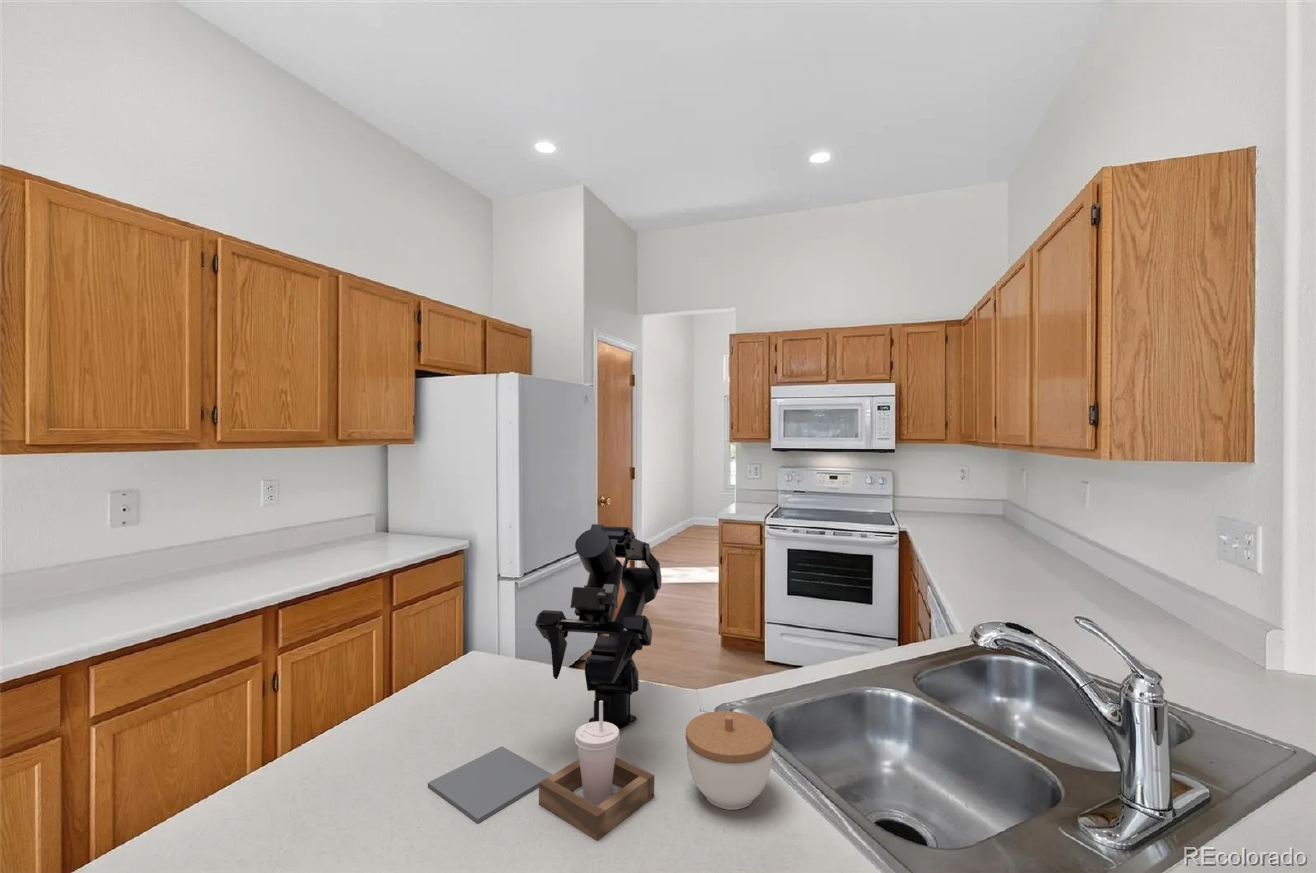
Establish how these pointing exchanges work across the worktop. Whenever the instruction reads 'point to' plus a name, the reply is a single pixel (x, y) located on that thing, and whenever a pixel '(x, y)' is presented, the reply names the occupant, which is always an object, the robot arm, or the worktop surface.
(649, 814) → the worktop surface
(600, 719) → the smoothie
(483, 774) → the slate mat
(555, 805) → the walnut holder
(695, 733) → the lidded bowl
